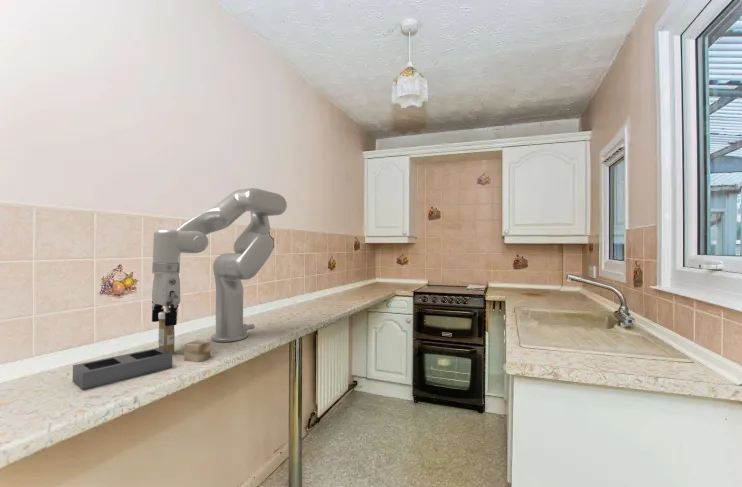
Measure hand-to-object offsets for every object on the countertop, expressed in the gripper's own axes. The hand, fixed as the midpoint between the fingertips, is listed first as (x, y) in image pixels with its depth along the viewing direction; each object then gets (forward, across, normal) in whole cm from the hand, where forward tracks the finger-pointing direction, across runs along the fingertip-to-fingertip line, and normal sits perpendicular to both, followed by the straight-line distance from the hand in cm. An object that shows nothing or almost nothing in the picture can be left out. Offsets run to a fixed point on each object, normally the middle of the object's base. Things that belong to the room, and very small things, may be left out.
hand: (163, 323), depth 110 cm
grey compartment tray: (+10, -9, +13) cm, 19 cm away
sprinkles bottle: (+10, 0, -1) cm, 10 cm away
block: (+10, -12, -5) cm, 16 cm away
